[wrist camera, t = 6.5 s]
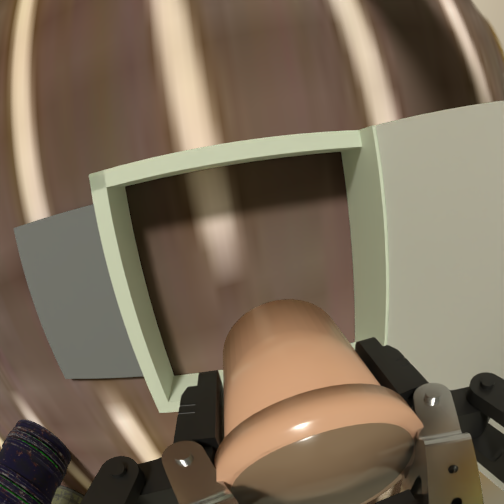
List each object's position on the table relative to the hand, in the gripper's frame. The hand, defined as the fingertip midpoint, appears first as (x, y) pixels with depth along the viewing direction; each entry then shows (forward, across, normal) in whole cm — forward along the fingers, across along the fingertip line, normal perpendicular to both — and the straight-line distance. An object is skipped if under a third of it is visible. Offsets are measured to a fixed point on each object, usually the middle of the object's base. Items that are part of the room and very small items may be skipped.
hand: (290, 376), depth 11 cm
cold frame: (+14, -1, 0) cm, 14 cm away
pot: (+2, 0, 0) cm, 2 cm away
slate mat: (+14, +16, 0) cm, 21 cm away
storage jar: (+14, +35, +21) cm, 43 cm away
